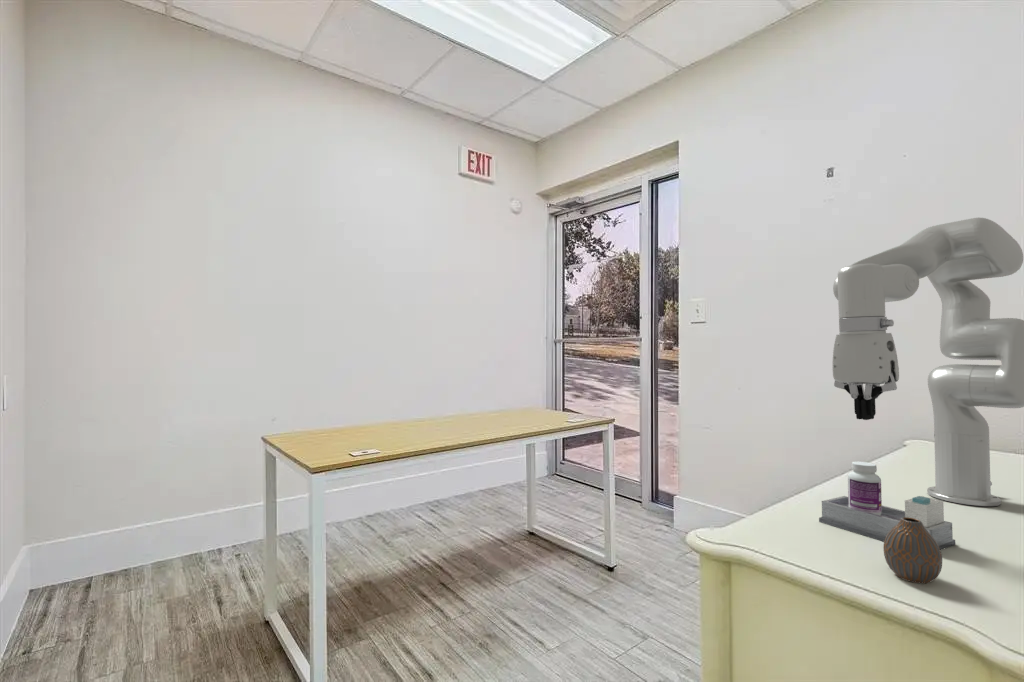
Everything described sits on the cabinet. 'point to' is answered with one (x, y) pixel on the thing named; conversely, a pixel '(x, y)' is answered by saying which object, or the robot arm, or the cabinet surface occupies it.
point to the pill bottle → (864, 488)
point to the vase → (912, 552)
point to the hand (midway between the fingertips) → (865, 418)
